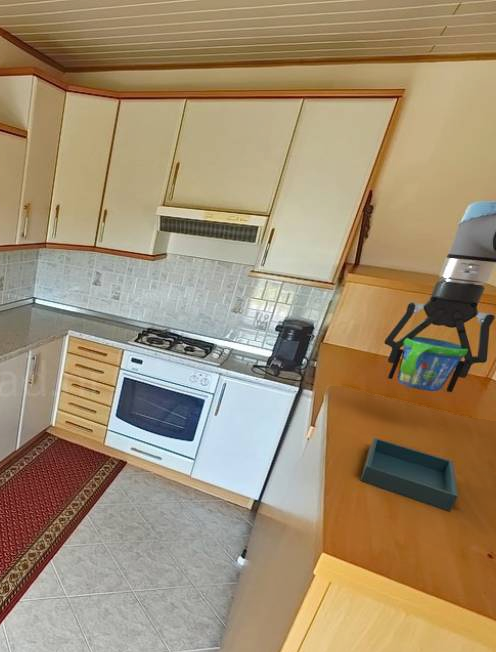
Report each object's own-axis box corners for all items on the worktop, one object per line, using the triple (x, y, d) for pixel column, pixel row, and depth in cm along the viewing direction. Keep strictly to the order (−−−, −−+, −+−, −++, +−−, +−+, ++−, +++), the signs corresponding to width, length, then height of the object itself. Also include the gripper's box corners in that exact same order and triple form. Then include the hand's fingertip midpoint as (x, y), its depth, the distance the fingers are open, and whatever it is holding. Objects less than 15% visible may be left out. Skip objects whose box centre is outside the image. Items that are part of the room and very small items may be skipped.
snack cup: (421, 396, 101) (441, 349, 97) (369, 379, 110) (386, 335, 106) (467, 394, 106) (488, 349, 102) (414, 377, 115) (431, 336, 112)
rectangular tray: (446, 475, 93) (453, 461, 92) (450, 511, 80) (458, 496, 79) (368, 450, 100) (374, 437, 99) (360, 480, 87) (366, 466, 86)
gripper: (393, 274, 104) (356, 373, 112) (541, 292, 91) (488, 403, 98) (394, 273, 110) (359, 367, 117) (534, 290, 96) (485, 395, 104)
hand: (418, 383), depth 108 cm, fingers closed on snack cup, 9 cm apart
